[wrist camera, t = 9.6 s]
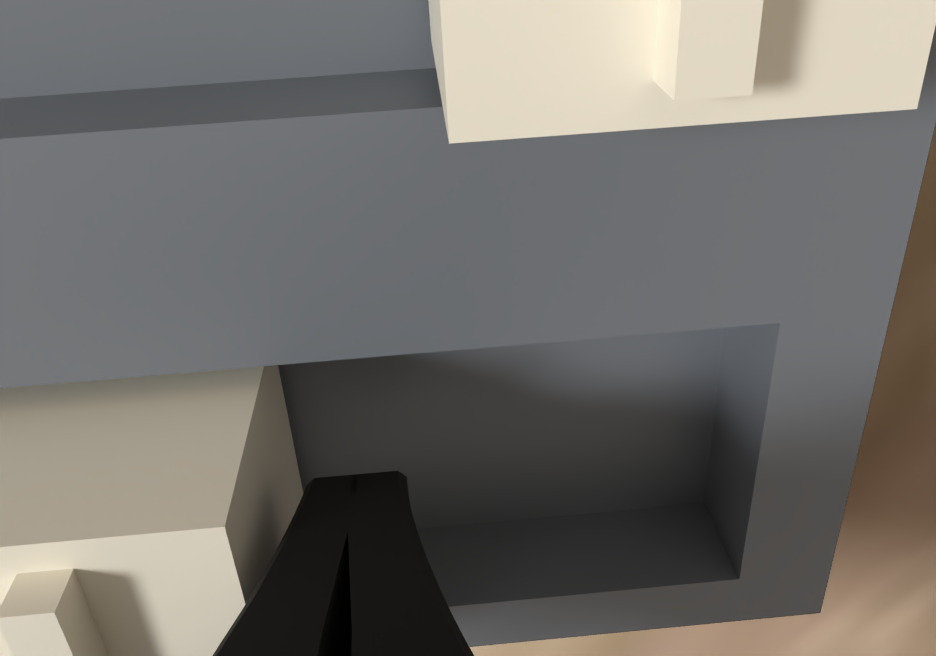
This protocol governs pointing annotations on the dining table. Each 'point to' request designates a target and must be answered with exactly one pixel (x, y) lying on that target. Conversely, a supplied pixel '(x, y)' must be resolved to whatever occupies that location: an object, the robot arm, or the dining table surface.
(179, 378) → the tab
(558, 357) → the switch bank
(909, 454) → the dining table surface
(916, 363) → the dining table surface
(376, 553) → the robot arm
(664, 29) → the tab
